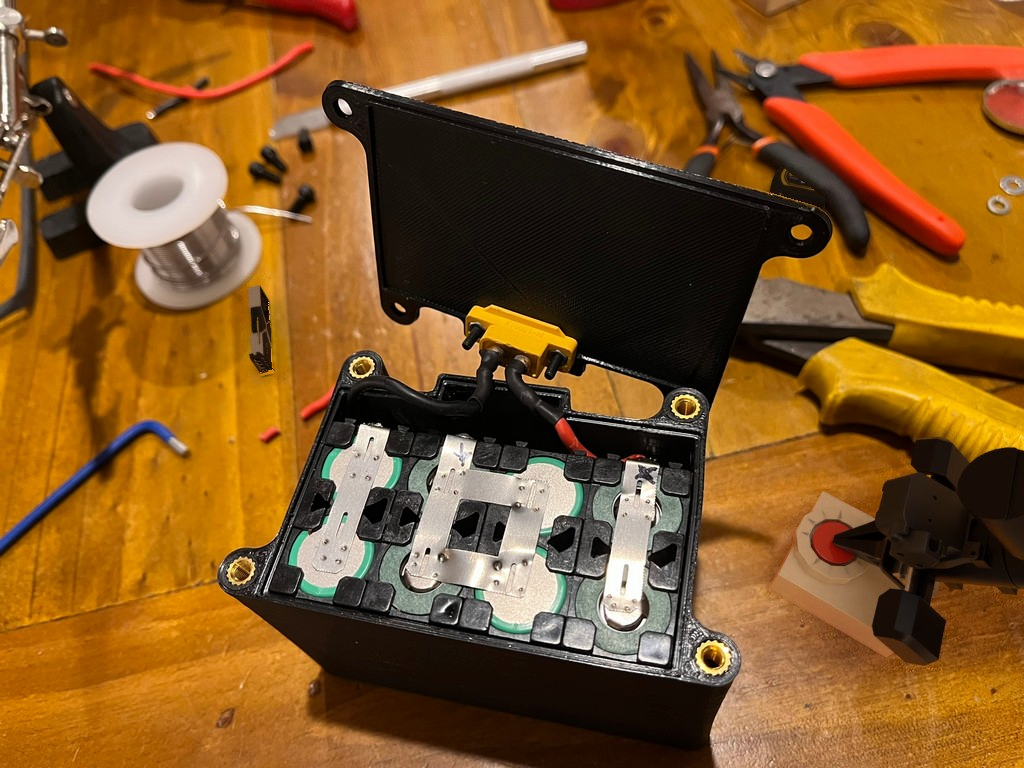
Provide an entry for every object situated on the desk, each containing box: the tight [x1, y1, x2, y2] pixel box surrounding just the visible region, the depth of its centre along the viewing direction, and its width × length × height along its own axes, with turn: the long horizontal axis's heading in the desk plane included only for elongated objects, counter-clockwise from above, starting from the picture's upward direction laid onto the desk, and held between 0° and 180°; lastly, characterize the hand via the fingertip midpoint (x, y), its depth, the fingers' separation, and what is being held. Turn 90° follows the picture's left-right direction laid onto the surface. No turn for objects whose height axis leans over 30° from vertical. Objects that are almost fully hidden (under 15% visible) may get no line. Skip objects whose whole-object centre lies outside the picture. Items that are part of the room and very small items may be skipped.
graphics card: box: [248, 284, 275, 373], centre depth 98 cm, size 12×3×5 cm, turn 12°
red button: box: [810, 522, 854, 566], centre depth 73 cm, size 4×4×2 cm
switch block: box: [768, 491, 900, 658], centre depth 74 cm, size 12×10×7 cm
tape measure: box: [769, 166, 827, 211], centre depth 100 cm, size 7×7×4 cm
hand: (835, 541), depth 72 cm, fingers closed, pressing on red button
